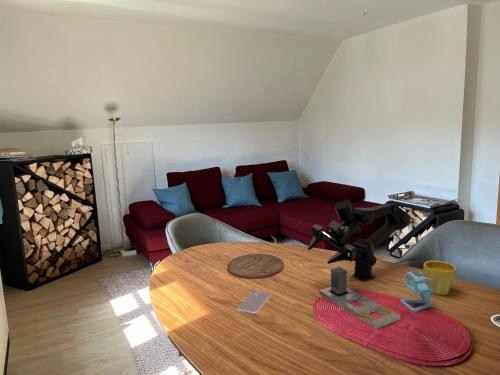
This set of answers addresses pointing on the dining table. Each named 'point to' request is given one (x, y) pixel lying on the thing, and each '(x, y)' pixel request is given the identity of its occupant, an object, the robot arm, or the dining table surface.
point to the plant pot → (439, 276)
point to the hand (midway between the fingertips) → (317, 255)
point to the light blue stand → (418, 290)
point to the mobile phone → (254, 302)
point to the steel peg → (338, 281)
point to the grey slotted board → (362, 307)
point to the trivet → (255, 266)
